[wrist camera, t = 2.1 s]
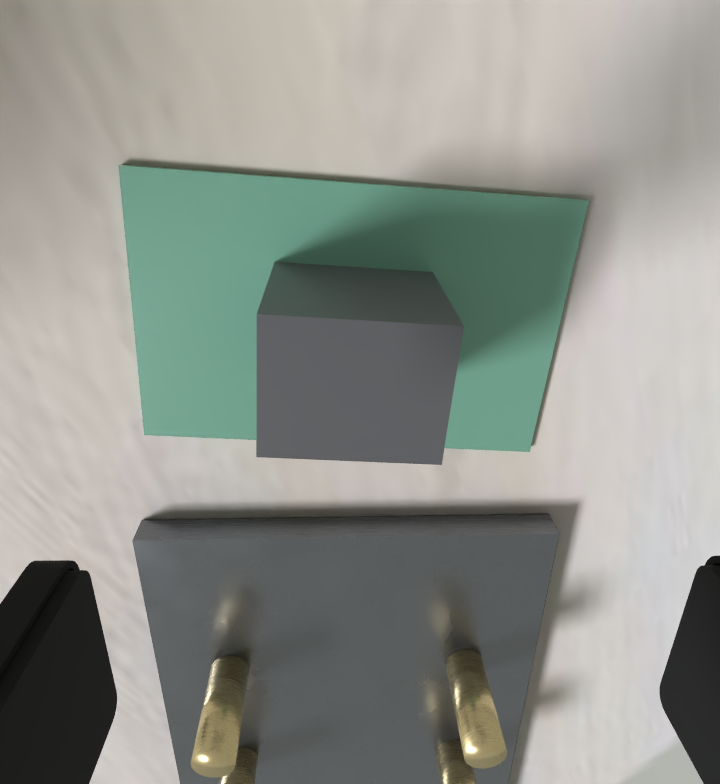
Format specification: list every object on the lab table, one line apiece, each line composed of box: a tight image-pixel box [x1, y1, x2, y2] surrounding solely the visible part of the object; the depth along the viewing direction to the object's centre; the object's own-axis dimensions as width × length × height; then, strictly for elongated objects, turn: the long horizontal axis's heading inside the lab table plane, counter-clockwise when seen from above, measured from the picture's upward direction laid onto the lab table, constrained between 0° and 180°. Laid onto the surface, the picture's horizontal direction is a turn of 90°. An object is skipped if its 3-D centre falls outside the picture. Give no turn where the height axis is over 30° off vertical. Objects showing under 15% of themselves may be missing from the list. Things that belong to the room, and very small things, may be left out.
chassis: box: [133, 514, 559, 784], centre depth 26 cm, size 20×16×5 cm
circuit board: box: [119, 164, 589, 465], centre depth 18 cm, size 14×9×6 cm, turn 86°
